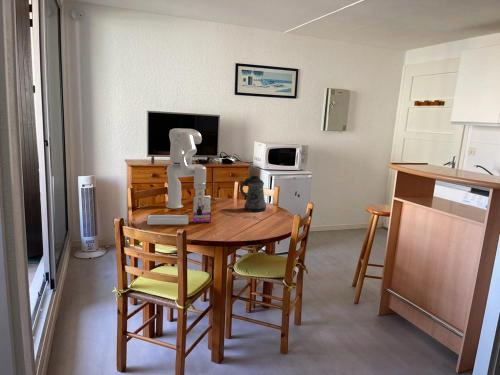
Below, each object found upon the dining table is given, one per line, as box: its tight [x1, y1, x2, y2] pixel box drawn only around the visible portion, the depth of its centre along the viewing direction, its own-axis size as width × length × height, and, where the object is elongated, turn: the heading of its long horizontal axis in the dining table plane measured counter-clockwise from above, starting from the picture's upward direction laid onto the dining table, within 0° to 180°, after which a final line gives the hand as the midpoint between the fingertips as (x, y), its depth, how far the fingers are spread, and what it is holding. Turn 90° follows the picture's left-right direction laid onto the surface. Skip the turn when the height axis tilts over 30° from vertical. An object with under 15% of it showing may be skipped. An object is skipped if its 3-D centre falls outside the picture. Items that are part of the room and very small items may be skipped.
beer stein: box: [239, 175, 267, 213], centre depth 267 cm, size 16×19×25 cm
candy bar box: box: [192, 195, 212, 223], centre depth 229 cm, size 11×5×16 cm, turn 102°
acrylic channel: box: [146, 214, 189, 225], centre depth 226 cm, size 9×24×4 cm, turn 99°
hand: (199, 213), depth 229 cm, fingers closed on candy bar box, 5 cm apart
